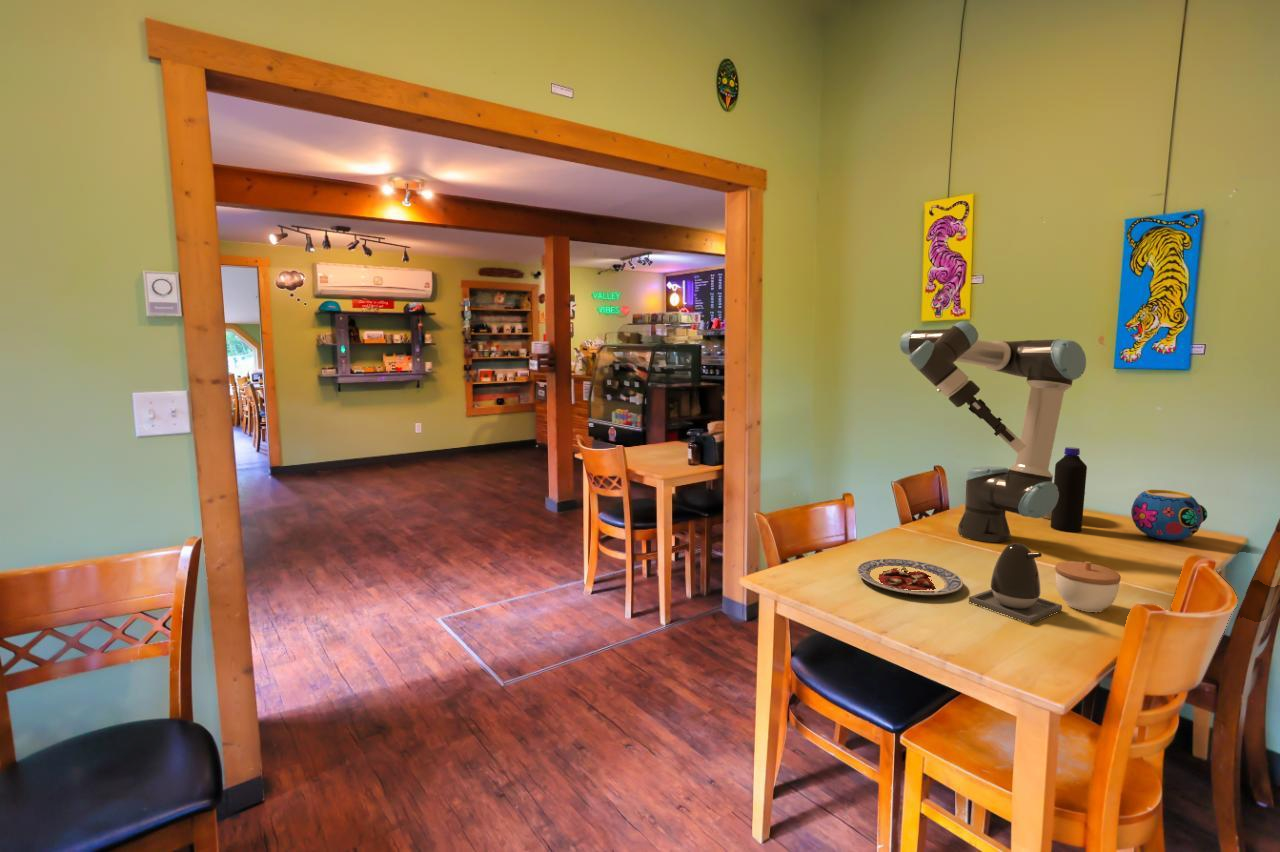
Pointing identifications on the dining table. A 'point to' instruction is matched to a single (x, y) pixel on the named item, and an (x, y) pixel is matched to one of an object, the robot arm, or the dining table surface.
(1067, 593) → the lidded bowl
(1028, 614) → the tray
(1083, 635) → the dining table surface
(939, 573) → the ceramic plate
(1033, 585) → the pump dispenser
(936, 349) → the robot arm
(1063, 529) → the bottle
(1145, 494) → the ceramic pot
